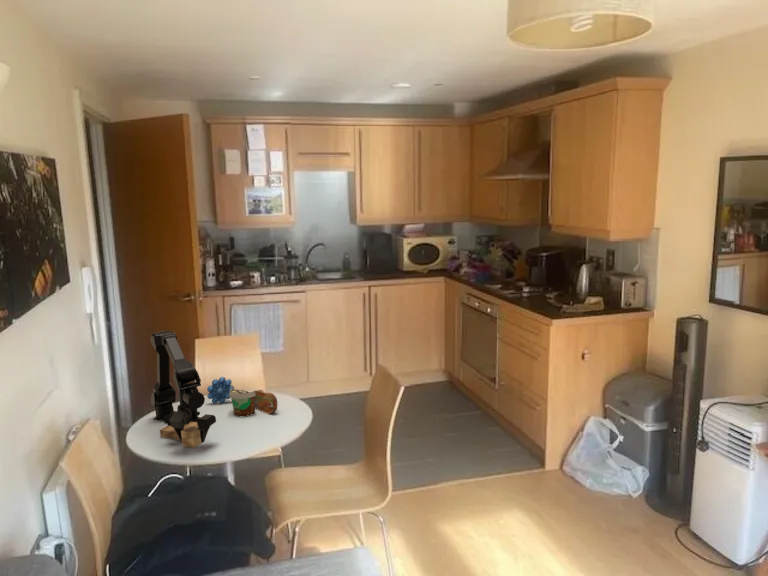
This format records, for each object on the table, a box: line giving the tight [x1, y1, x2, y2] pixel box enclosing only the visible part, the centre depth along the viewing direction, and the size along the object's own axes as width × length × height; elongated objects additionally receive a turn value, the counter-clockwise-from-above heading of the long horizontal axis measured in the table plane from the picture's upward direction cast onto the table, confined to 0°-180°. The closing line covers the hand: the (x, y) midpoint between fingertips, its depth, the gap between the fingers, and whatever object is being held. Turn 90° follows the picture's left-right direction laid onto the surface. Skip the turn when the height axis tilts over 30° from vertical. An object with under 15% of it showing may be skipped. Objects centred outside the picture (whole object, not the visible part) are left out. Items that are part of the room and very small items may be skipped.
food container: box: [229, 387, 256, 417], centre depth 238 cm, size 12×6×10 cm, turn 62°
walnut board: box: [159, 422, 199, 441], centre depth 223 cm, size 12×14×3 cm
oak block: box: [181, 426, 203, 449], centre depth 212 cm, size 5×5×6 cm
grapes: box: [206, 376, 235, 404], centre depth 252 cm, size 12×7×12 cm, turn 97°
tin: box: [254, 389, 278, 415], centre depth 241 cm, size 15×3×8 cm, turn 48°
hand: (192, 441), depth 212 cm, fingers open, 9 cm apart
